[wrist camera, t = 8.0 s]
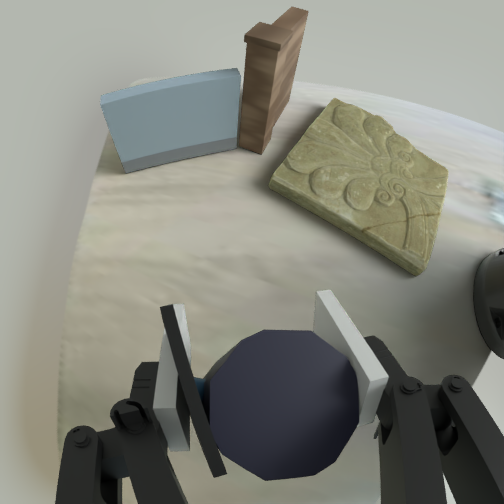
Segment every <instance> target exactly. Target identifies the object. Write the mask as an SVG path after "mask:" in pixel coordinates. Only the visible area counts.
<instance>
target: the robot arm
mask: <svg viewBox="0 0 504 504" xmlns="http://www.w3.org/2000/svg"><path fill="white" fill-rule="evenodd" d="M171 305H172V304H171ZM173 306H174V310H175V314H176V318H177V321H178V325H179V329H180V332H181V336H182V340H183V343H184V347H185V350H186V354H187V357H188V360H189V364H190V367H191V343H190V338H189V332H188V326H187V320H186V314H185V308H184V304H173ZM474 307H475V313H476V318H477V322H478V325H479V328H480V331H481V333H482V336H483V338H484V340H485V341H486V343H487V345H488V346H489V347H490V349H491V350H492V351H493V352H494V353H495V354H496V355H497V356H499V357H500V358H502V359H504V248H502V249H499V250H497V251H496V252H494V253H493V254H491V255H489V256H488V257H486V258H485V259H484V260H483V262H482V263H481V265H480V266H479V268H478V271H477V274H476V278H475V283H474ZM313 333H315V334H316V335H318V336H319V337H320V338H322V339H323V340H324V341H326V342H327V343H328V344H330V345H331V346H332V347H334V348H335V349H337V350H338V351H339V352H341V353H342V354H343V355H345V356H346V357H347V358H348V360H349V362H350V364H351V365H352V367H353V369H354V371H355V373H356V375H357V381H358V394H359V424H358V426H361V425H365V424H369V423H372V422H373V421H374V418H375V416H376V414H377V416H378V418H379V420H380V422H379V425H378V427H377V430H376V432H375V434H374V439H376V438H377V436H378V437H379V454H380V478H381V504H447V500H446V493H445V485H444V478H443V474H444V476H445V478H446V480H447V482H448V485H449V487H450V489H451V492H452V494H453V497H454V499H455V501H456V504H504V436H503V434H502V433H501V431H500V429H499V428H498V426H497V425H496V423H495V422H494V420H493V418H492V417H491V415H490V414H489V412H488V411H487V409H486V408H485V406H484V405H483V403H482V402H481V400H480V399H479V397H478V396H477V394H476V393H475V391H474V390H473V388H472V387H471V386H470V384H469V383H468V382H467V381H466V380H465V379H464V378H463V377H461V376H457V375H449V376H447V377H445V378H444V379H443V381H442V383H441V385H423V384H422V382H420V381H419V380H418V379H416V378H413V377H408V376H407V375H406V373H405V372H404V371H403V369H402V368H401V366H400V365H399V364H398V362H397V361H396V359H395V358H394V357H393V356H392V354H391V352H390V351H389V350H388V348H387V347H386V345H385V344H384V343H383V341H381V340H380V339H378V338H377V337H375V336H369V337H364V338H363V337H362V335H361V334H360V332H359V331H358V329H357V328H356V326H355V325H354V323H353V322H352V320H351V319H350V317H349V316H348V314H347V313H346V311H345V310H344V309H343V307H342V306H341V304H340V303H339V301H338V300H337V298H336V297H335V295H334V294H333V293H332V291H331V290H322V291H316V301H315V315H314V327H313ZM133 380H134V381H133V384H132V389H131V394H130V398H128V399H123V400H121V401H119V402H117V403H116V404H115V405H114V406H113V407H112V409H111V412H110V417H111V419H112V421H113V423H114V425H115V428H112V429H109V430H104V431H100V432H96V431H95V430H94V429H93V428H91V427H89V426H84V425H83V426H77V427H75V428H73V429H71V430H70V431H69V432H68V433H67V436H66V438H65V442H64V448H63V453H62V459H61V465H60V471H59V479H58V485H57V493H56V501H55V504H122V478H125V477H129V476H130V479H131V483H132V486H133V489H134V493H135V496H136V499H137V502H138V504H188V502H187V500H186V498H185V495H184V493H183V491H182V489H181V486H180V484H179V482H178V479H177V477H176V475H175V472H174V470H173V467H172V465H171V462H170V460H169V458H168V455H167V448H168V447H169V450H170V451H190V411H189V408H188V405H187V402H186V398H185V395H184V392H183V389H182V386H181V382H180V379H179V376H178V372H177V369H176V366H175V362H174V359H173V355H172V352H171V348H170V344H169V341H168V337H167V334H166V331H165V328H164V334H163V340H162V346H161V353H160V359H159V362H142V363H141V364H140V365H139V367H138V368H137V369H136V370H135V375H134V379H133ZM358 426H357V427H358ZM442 471H443V472H442Z"/></svg>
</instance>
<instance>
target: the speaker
mask: <svg viewBox="0 0 504 504" xmlns="http://www.w3.org/2000/svg"><path fill="white" fill-rule="evenodd" d="M160 310H161V314H162V319H163V323H164V327H165V331H166V334H167V337H168V341H169V344H170V348H171V352H172V355H173V359H174V362H175V366H176V369H177V372H178V376H179V379H180V382H181V386H182V389H183V392H184V395H185V398H186V402H187V405H188V408H189V411H190V417H191V419H192V422H193V425H194V428H195V431H196V434H197V437H198V439H199V442H200V445H201V447H202V450H203V452H204V455H205V457H206V460H207V462H208V465H209V467H210V470H211V472H212V475H213V477H214V478H215V477H219V476H222V475H225V474H227V472H226V469H225V467H224V464H223V461H222V459H221V456H220V453H219V451H218V449H219V450H220V452H221V453H222V455H224V456H225V457H227V458H229V459H230V460H232V461H233V462H235V463H236V464H238V465H240V466H241V467H243V468H245V469H246V470H248V471H250V472H251V473H253V474H255V475H256V476H258V477H260V478H261V479H263V480H265V481H268V480H279V479H289V478H298V477H306V476H313V475H316V474H317V473H319V472H320V471H322V470H324V469H325V468H327V467H328V466H330V465H331V464H333V463H334V462H335V461H336V460H337V458H338V457H339V455H340V453H341V452H342V450H343V449H344V447H345V445H346V444H347V442H348V441H349V439H350V437H351V436H352V434H353V432H354V431H355V429H356V427H357V426H358V424H359V394H358V381H357V375H356V373H355V371H354V369H353V367H352V365H351V364H350V362H349V360H348V358H347V357H346V356H345V355H343V354H342V353H341V352H339V351H338V350H337V349H335V348H334V347H332V346H331V345H330V344H328V343H327V342H326V341H324V340H323V339H322V338H320V337H319V336H318V335H316V334H315V333H313V332H312V331H297V330H262V331H260V332H258V333H256V334H254V335H252V336H250V337H247V338H245V339H243V340H241V341H240V342H239V343H238V344H237V345H236V346H234V347H233V348H232V349H231V350H230V351H229V352H227V353H226V354H225V355H224V356H223V357H222V358H220V359H219V360H218V361H217V362H216V363H215V364H214V366H213V367H212V368H211V369H210V371H209V372H208V373H207V374H206V376H205V377H204V378H203V379H201V378H196V377H193V374H192V370H191V367H190V364H189V360H188V357H187V354H186V350H185V347H184V343H183V340H182V336H181V332H180V329H179V325H178V321H177V318H176V314H175V310H174V306H173V304H172V305H167V306H163V307H160Z"/></svg>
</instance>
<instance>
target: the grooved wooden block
mask: <svg viewBox="0 0 504 504" xmlns="http://www.w3.org/2000/svg"><path fill="white" fill-rule="evenodd" d="M307 16H308V11H306V10H303V9H299V8H295V7H291V8H290V9H289V10H287V11H286V12H285V13H284V14H283V15H282V16H281V17H279V18H278V19H277V20H276V21H275V22H274V23H273V24H272V25H269V24H266V23H262V22H259V23H258V24H256V25H255V26H254V27H253V28H252V29H251V30H250V31H248V32H247V33H246V34H245V36H244V42H246V43H247V48H246V59H245V72H244V83H243V96H242V109H241V122H240V136H239V147H242V148H245V149H248V150H250V151H253V152H256V153H258V154H261V155H262V153H263V151H264V150H265V148H266V146H267V144H268V143H269V141H270V139H271V134H272V129H273V126H274V125H275V123H276V121H277V120H278V118H279V116H280V115H281V113H282V111H283V110H284V108H285V106H286V105H287V103H288V101H289V98H290V94H291V89H292V84H293V80H294V75H295V71H296V66H297V61H298V57H299V53H300V48H301V43H302V39H303V34H304V30H305V25H306V20H307Z"/></svg>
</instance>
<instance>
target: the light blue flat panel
mask: <svg viewBox="0 0 504 504" xmlns="http://www.w3.org/2000/svg"><path fill="white" fill-rule="evenodd" d="M240 83H241V75H240V73H239V71H238V69H237V68H232V69H225V70H217V71H210V72H203V73H198V74H191V75H185V76H180V77H175V78H170V79H165V80H160V81H155V82H151V83H147V84H142V85H138V86H134V87H130V88H126V89H122V90H119V91H115V92H112V93H108V94H105V95H101V103H100V105H101V108H102V111H103V114H104V116H105V119H106V122H107V125H108V128H109V130H110V133H111V136H112V139H113V141H114V144H115V147H116V149H117V152H118V154H119V157H120V160H121V162H122V165H123V167H124V170H125V172H126V173H129V172H133V171H137V170H141V169H145V168H149V167H153V166H157V165H161V164H165V163H169V162H174V161H178V160H183V159H187V158H192V157H196V156H201V155H206V154H211V153H216V152H221V151H227V150H232V149H236V146H237V128H238V112H239V98H240Z"/></svg>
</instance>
